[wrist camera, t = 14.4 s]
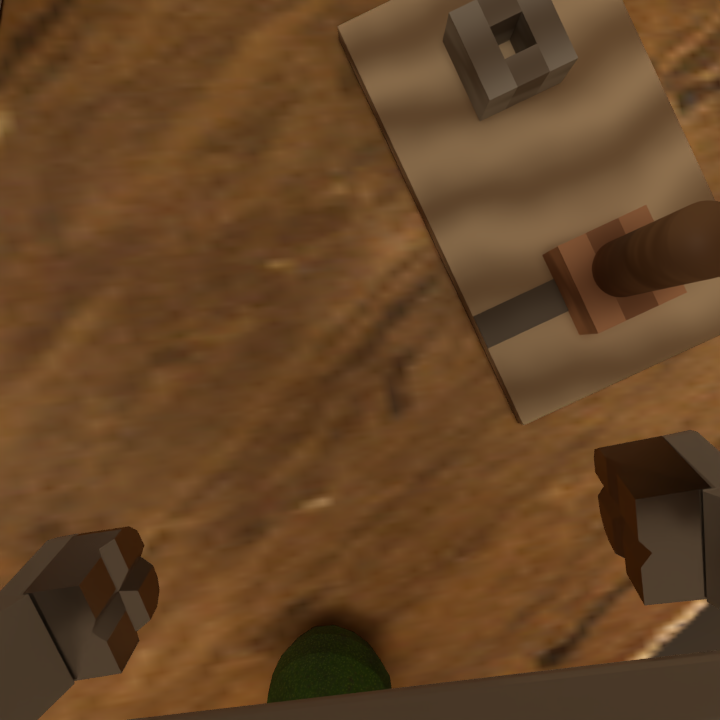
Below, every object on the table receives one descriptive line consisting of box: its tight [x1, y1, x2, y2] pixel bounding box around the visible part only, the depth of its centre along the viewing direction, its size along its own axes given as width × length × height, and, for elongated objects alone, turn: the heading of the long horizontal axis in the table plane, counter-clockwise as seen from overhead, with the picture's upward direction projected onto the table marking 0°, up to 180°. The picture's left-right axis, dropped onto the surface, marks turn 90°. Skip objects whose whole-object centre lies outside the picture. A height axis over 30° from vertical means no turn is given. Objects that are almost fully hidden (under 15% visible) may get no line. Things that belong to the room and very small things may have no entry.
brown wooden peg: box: [592, 200, 720, 297], centre depth 32 cm, size 4×4×12 cm
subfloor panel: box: [337, 0, 720, 425], centre depth 37 cm, size 30×18×5 cm, turn 25°
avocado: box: [267, 625, 391, 703], centre depth 34 cm, size 8×8×12 cm
